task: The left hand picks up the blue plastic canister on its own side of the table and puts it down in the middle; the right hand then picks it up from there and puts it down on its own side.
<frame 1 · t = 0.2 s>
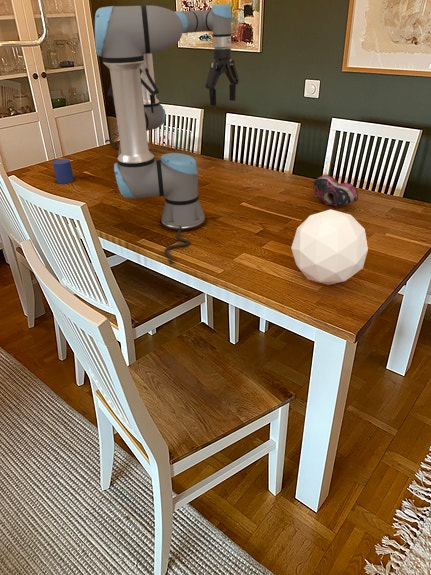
left hand: (223, 102, 195), 28 cm above the table, tool pointing down, fingers open, 13 cm apart
right hand: (135, 113, 180), 28 cm above the table, tool pointing down, fingers open, 13 cm apart
canister: (65, 180, 197), on the table
sphere: (325, 278, 122), on the table
athletic shoe: (329, 202, 167), on the table
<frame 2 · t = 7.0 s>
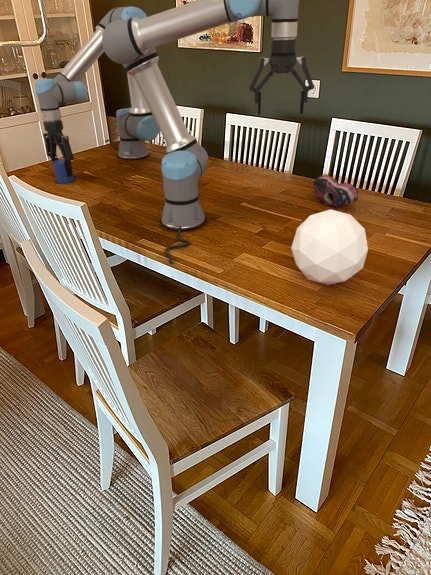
left hand: (63, 174, 196), 3 cm above the table, tool pointing down, fingers closed on canister, 7 cm apart
right hand: (280, 113, 143), 34 cm above the table, tool pointing down, fingers open, 13 cm apart
canister: (65, 180, 197), on the table, touching left hand
everything else where it was.
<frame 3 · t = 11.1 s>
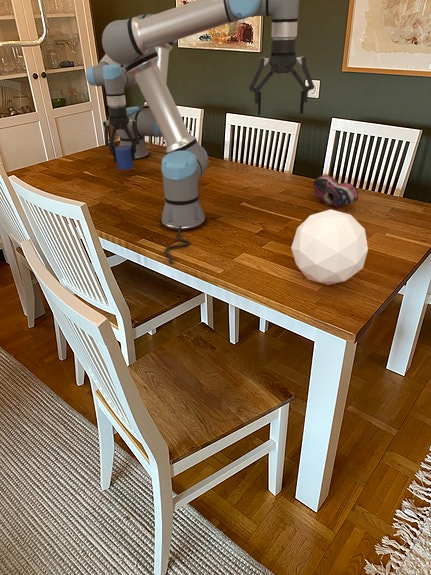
left hand: (124, 160, 197), 7 cm above the table, tool pointing down, fingers closed on canister, 7 cm apart
right hand: (280, 113, 143), 34 cm above the table, tool pointing down, fingers open, 13 cm apart
canister: (125, 167, 198), point 4 cm above the table, touching left hand
everything else where it was.
when the left hand's fingers open (4 cm above the table, at t = 15.3 s): canister drops 1 cm, on the table.
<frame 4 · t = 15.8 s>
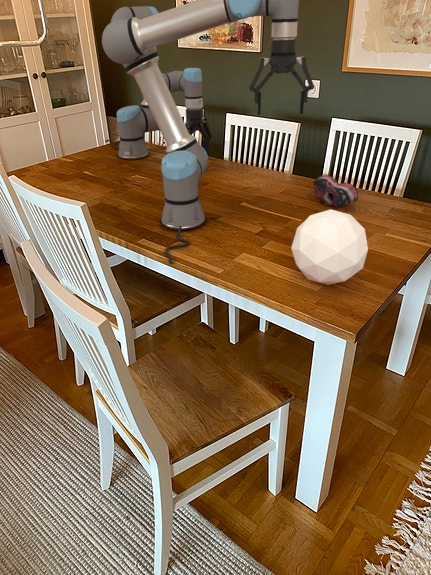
left hand: (196, 157, 201), 6 cm above the table, tool pointing down, fingers open, 13 cm apart
right hand: (280, 113, 143), 34 cm above the table, tool pointing down, fingers open, 13 cm apart
canister: (197, 170, 204), on the table
everything else where it was.
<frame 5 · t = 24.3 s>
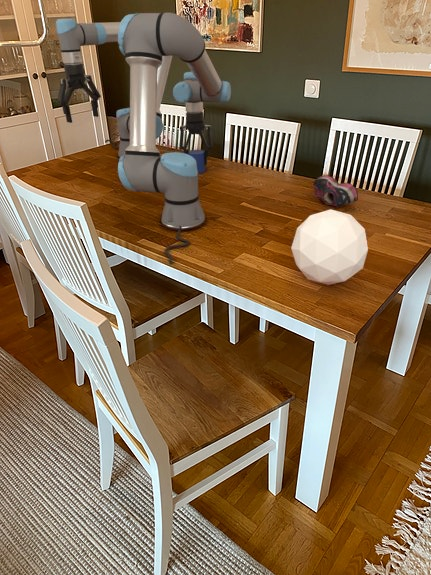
left hand: (83, 119, 188), 25 cm above the table, tool pointing down, fingers open, 13 cm apart
right hand: (197, 164, 203), 3 cm above the table, tool pointing down, fingers closed on canister, 7 cm apart
canister: (197, 170, 204), on the table, touching right hand
everything else where it was.
when the right hand's fingers open (4 cm above the table, at t = 30.9 s): canister drops 1 cm, on the table.
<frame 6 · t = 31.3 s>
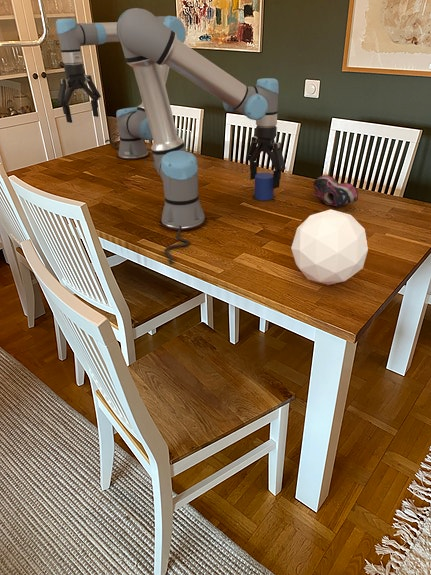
left hand: (83, 119, 188), 25 cm above the table, tool pointing down, fingers open, 13 cm apart
right hand: (264, 183, 171), 6 cm above the table, tool pointing down, fingers open, 12 cm apart
canister: (263, 197, 174), on the table
everything else where it was.
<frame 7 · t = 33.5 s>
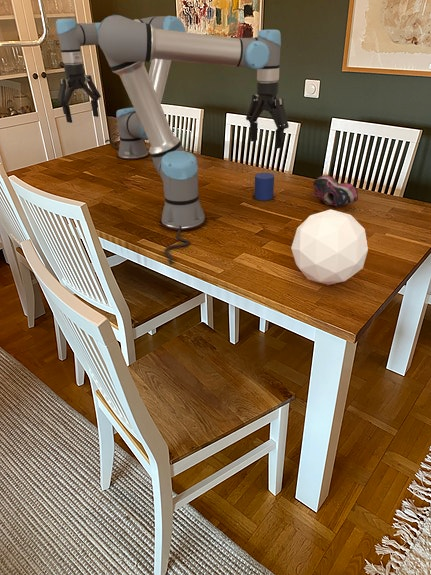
left hand: (83, 119, 188), 25 cm above the table, tool pointing down, fingers open, 13 cm apart
right hand: (265, 144, 163), 20 cm above the table, tool pointing down, fingers open, 13 cm apart
nothing on the table moved.
at the end: canister inside the target area (0.0 cm from its centre), on the table; canister tilted 0°; the two hands never held the canister at the same time; the left hand is holding nothing; the right hand is holding nothing; canister at rest at the end (0.0 cm/s) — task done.
